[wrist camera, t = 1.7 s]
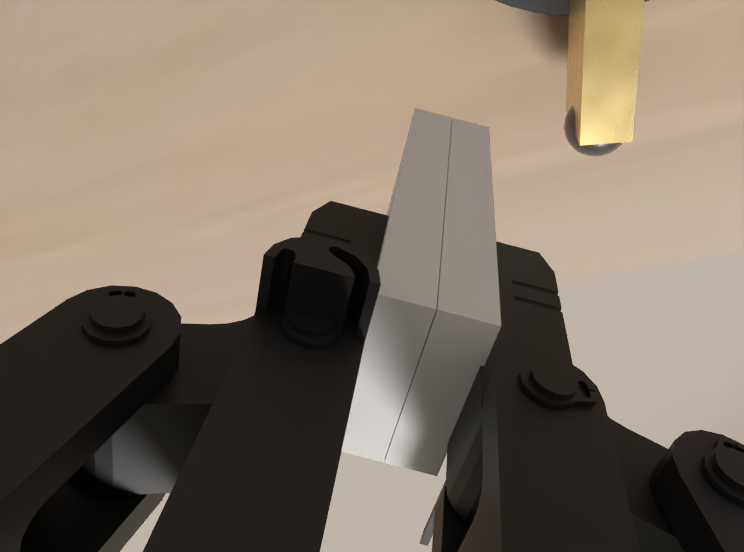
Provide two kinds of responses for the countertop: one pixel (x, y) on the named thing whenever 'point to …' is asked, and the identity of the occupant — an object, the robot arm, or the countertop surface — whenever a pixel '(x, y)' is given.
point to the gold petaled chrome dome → (602, 73)
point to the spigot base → (541, 6)
